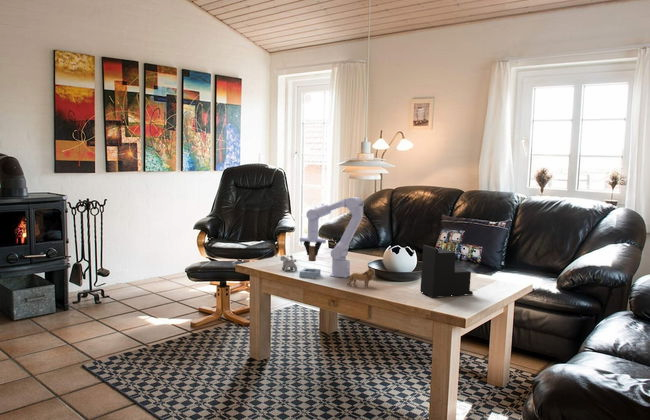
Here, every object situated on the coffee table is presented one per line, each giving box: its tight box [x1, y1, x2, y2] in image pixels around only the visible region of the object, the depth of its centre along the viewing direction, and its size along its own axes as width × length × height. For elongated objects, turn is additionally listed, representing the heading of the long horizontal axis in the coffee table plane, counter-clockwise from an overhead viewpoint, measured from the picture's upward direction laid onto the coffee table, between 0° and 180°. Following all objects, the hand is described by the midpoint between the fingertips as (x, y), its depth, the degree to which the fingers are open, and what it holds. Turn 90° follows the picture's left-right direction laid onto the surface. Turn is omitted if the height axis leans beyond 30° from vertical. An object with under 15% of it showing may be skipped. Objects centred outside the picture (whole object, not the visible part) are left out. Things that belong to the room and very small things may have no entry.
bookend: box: [420, 244, 474, 298], centre depth 254 cm, size 23×11×24 cm, turn 113°
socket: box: [299, 267, 321, 279], centre depth 284 cm, size 9×9×3 cm
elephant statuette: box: [279, 254, 298, 272], centre depth 298 cm, size 9×12×8 cm
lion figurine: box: [346, 267, 376, 288], centre depth 264 cm, size 15×5×9 cm, turn 106°
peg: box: [308, 245, 317, 262], centre depth 293 cm, size 4×4×8 cm
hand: (312, 255), depth 293 cm, fingers closed on peg, 4 cm apart
